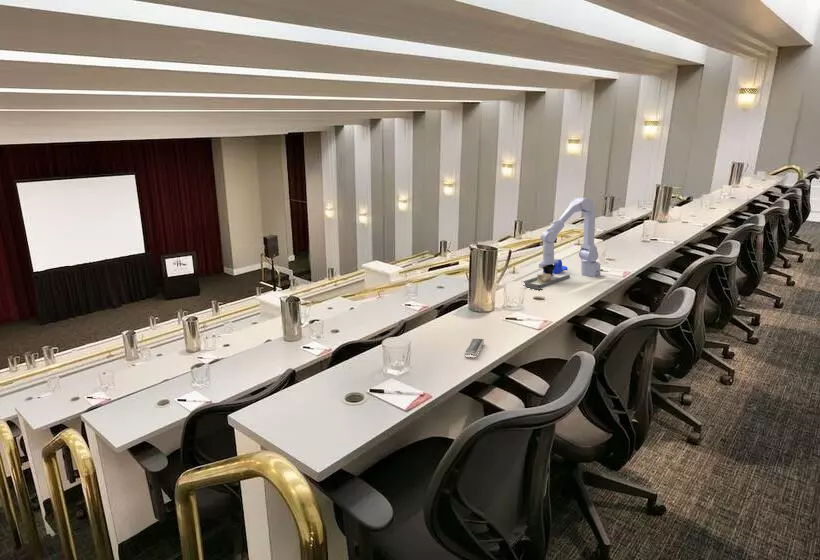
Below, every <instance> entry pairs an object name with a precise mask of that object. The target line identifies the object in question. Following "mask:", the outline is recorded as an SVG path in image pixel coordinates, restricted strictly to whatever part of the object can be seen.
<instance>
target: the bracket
mask: <svg viewBox="0 0 820 560" xmlns="http://www.w3.org/2000/svg"><path fill="white" fill-rule="evenodd" d="M553 265H555V268H554V270H553V275H558V274H560V273H562V272H563V271H568V266H566V265H563V261H562V259H558V263H555V264H553ZM542 273H545V272H544V270H543V269H542Z"/></svg>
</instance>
